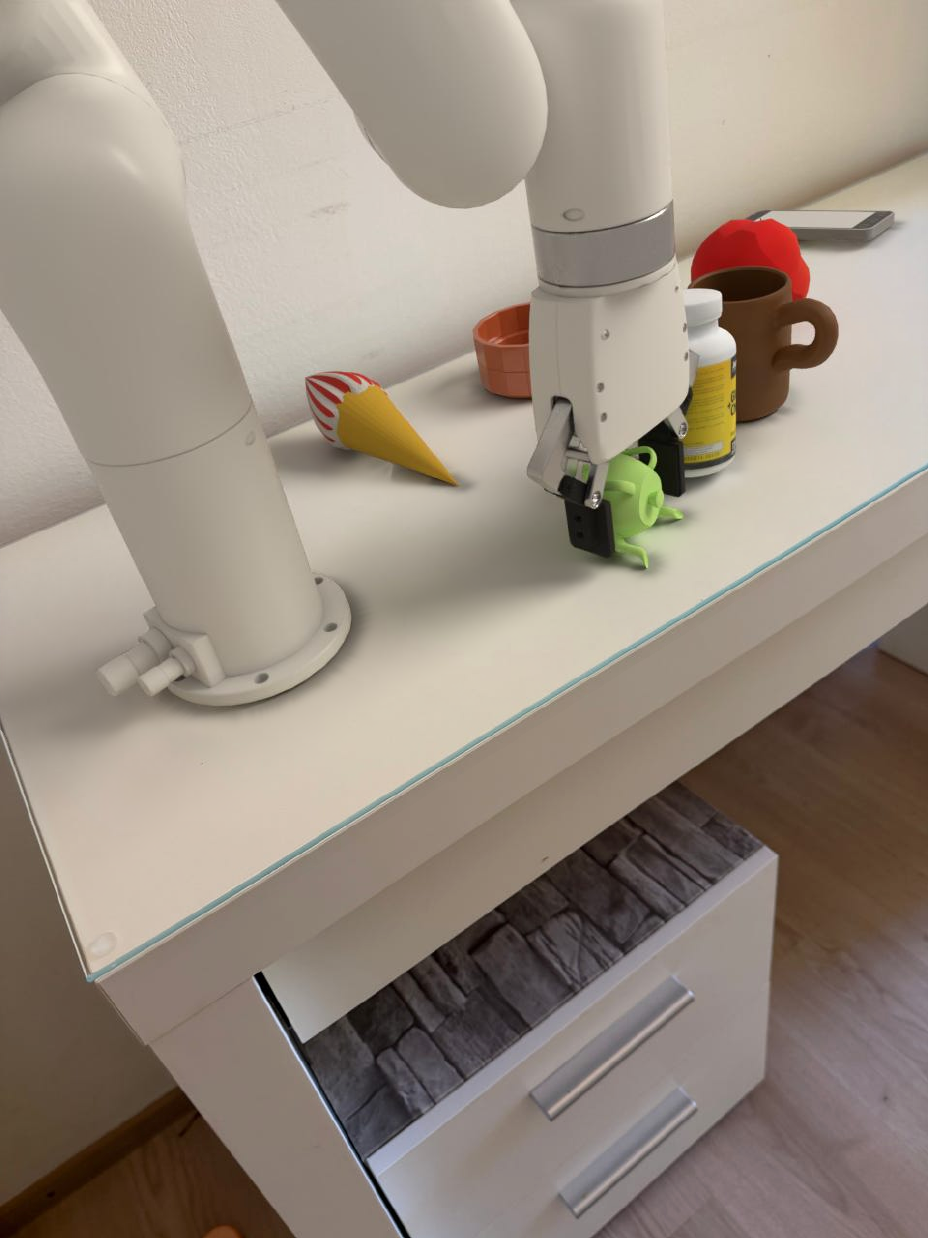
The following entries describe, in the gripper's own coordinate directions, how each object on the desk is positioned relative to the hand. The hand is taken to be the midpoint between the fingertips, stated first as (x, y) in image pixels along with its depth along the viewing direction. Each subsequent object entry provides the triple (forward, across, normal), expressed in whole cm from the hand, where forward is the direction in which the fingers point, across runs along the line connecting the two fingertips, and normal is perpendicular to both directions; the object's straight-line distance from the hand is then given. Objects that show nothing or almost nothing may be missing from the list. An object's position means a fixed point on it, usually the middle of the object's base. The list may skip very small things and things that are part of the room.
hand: (628, 518), depth 61 cm
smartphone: (0, -56, -9) cm, 57 cm away
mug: (+2, -19, -1) cm, 19 cm away
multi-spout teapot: (+2, 0, 0) cm, 2 cm away
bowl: (+1, -17, -22) cm, 28 cm away
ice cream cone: (+1, 0, -25) cm, 25 cm away
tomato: (-2, -28, -10) cm, 30 cm away
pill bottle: (+1, -9, -1) cm, 9 cm away
